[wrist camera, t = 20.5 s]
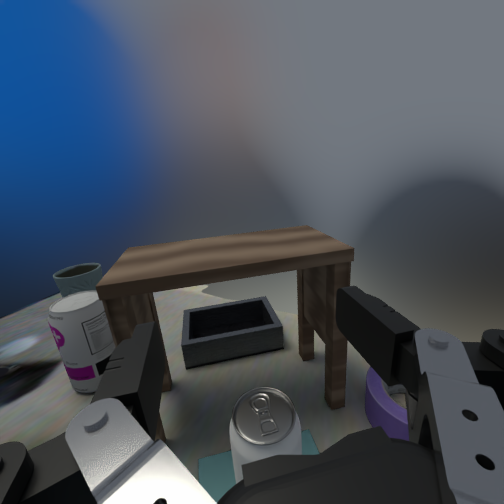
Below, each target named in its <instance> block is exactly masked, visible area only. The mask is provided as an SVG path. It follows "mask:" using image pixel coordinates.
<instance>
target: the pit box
mask: <svg viewBox="0 0 504 504" xmlns="http://www.w3.org/2000/svg"><path fill="white" fill-rule="evenodd" d="M181 346H182V351H183V357H184V362H185V367H186V369H190V368H195V367H199V366H204V365H209V364H214V363H219V362H223V361H228V360H233V359H238V358H242V357H247V356H252V355H257V354H261V353H266V352H271V351H276V350H280V349H284V346H283V326H282V324H281V322H280V321H279V319H278V317H277V315H276V314H275V312H274V310H273V308H272V307H271V305H270V303H269V301H268V300H267V298H266V296H265V297H259V298H253V299H247V300H241V301H235V302H229V303H224V304H218V305H212V306H206V307H200V308H194V309H189V310H184V317H183V330H182V344H181Z"/></svg>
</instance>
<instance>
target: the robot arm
mask: <svg viewBox="0 0 504 504" xmlns="http://www.w3.org/2000/svg"><path fill="white" fill-rule="evenodd" d="M336 324H337V327H338V329H339V330H340V332H341V333H342V334H343V335H344V336H345V337H346V339H347V340H348V341H349V342H350V343H351V344H352V345H353V347H354V348H355V349H356V350H357V351H358V352H359V353H360V355H361V356H362V357H363V358H364V359H365V360H366V361H367V363H368V364H369V365H370V366H371V367H372V368H373V369H374V371H375V372H376V373H377V374H378V375H379V376H380V377H381V379H382V380H383V381H384V382H385V383H386V384H387V385H388V387H390V386H394V385H398V384H402V385H403V386H404V387H405V388H406V392H405V398H406V409H407V421H408V432H409V441H407V440H403V439H397V438H389V437H388V435H387V434H386V433H385V431H384V430H383V428H382V427H381V426H377V427H373V428H370V429H366V430H363V431H359V432H356V433H352V434H349V435H347V436H346V437H344V438H343V439H341V440H340V441H338V442H337V443H335V444H334V445H332V446H331V447H330V448H328V449H327V450H325V451H324V452H322V453H320V454H317V455H275V456H271V457H268V458H264V459H261V460H257V461H254V462H250V463H247V464H243V465H241V466H242V474H243V480H241V481H240V482H238V483H237V484H235V485H234V486H233V487H232V488H231V489H229V490H228V491H227V492H226V493H225V494H224V495H223V496H222V497H221V499H220V500H219V501H218V502H217V503H216V502H215V501H214V500H213V499H212V497H211V496H210V495H209V494H208V493H207V492H206V490H205V489H204V488H203V487H202V486H201V485H200V483H199V482H198V481H197V480H196V479H195V478H194V477H193V475H192V474H191V473H190V472H189V471H188V470H187V468H186V467H185V466H184V465H183V464H182V463H181V461H180V460H179V459H178V458H177V457H176V456H175V455H174V453H173V452H172V451H171V450H170V449H169V448H168V446H167V445H166V444H165V443H164V442H163V441H162V440H160V439H157V440H156V441H155V437H156V429H157V422H158V415H159V408H160V401H161V393H162V386H163V379H164V372H165V355H164V350H163V345H162V341H161V337H160V332H159V328H158V324H157V322H156V321H154V322H149V323H143V324H138V325H136V326H135V329H134V332H133V335H132V337H131V339H126V340H123V341H122V342H121V343H120V344H119V345H118V346H117V347H116V348H115V349H114V350H113V352H112V355H111V357H110V359H109V362H108V364H107V366H106V369H105V371H104V373H103V376H102V378H101V380H100V383H99V385H98V387H97V390H96V392H95V394H94V397H93V399H92V401H91V404H90V405H88V406H86V407H85V408H84V409H82V410H81V411H80V412H79V413H78V414H77V415H76V416H75V417H74V418H73V419H72V420H71V422H70V423H69V425H68V427H67V429H66V432H64V433H63V434H61V435H59V436H57V437H56V438H54V439H52V440H49V441H47V442H45V443H43V444H41V445H39V446H37V447H35V448H33V449H31V450H29V451H27V449H26V447H25V446H24V445H23V443H20V442H8V443H4V444H1V445H0V504H504V330H499V329H490V330H486V331H485V332H483V335H482V339H481V342H461V341H460V340H458V338H456V337H455V336H453V335H451V334H449V333H447V332H444V331H441V330H437V329H430V328H429V329H420V328H419V327H418V326H416V325H415V324H413V323H412V322H411V321H409V320H408V319H407V318H405V317H404V316H402V315H401V314H400V313H398V312H395V310H394V309H393V308H391V307H389V306H388V305H387V304H386V303H385V302H383V301H382V300H380V299H379V298H376V297H373V296H371V295H369V294H366V293H364V292H363V291H362V290H360V289H359V288H358V287H356V286H349V287H343V288H339V289H338V290H337V293H336Z"/></svg>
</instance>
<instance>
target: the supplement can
mask: <svg viewBox="0 0 504 504" xmlns="http://www.w3.org/2000/svg"><path fill="white" fill-rule="evenodd" d="M49 310H50V313H49V316H48V323H49V325H50V328H51V331H52V333H53V336H54V339H55V341H56V344H57V347H58V350H59V352H60V355H61V358H62V360H63V363H64V366H65V368H66V371H67V374H68V377H69V379H70V382H71V385H72V387H73V388H74V389H75V391H78V392H85V393H90V392H96V390H97V387H98V385H99V383H100V380H101V378H102V376H103V373H104V371H105V369H106V366H107V364H108V362H109V359H110V357H111V355H112V352H113V350H114V349H115V345H114V341H113V338H112V334H111V331H110V327H109V324H108V320H107V317H106V313H105V310H104V306H103V303H102V300H101V301H99V298H98V294H97V291H93V290H92V291H83V292H78V293H74V294H71V295H68V296H66V297H63V298H61V299H59V300H58V301H56V302H54V303H53V304H52V305H51V306H50V309H49Z"/></svg>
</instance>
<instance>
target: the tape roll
mask: <svg viewBox="0 0 504 504" xmlns="http://www.w3.org/2000/svg"><path fill="white" fill-rule="evenodd" d="M405 392H406V388H405V387H404V386H403V385H402V384H398V385H394V386H390V387H388V385H387V384H386V383H385V382H384V381H383V380H382V379H381V377H380V376H379V375H378V374H377V373H376V372H375V371H374V369H373V368H372V367H370V368H369V370H368V372H367V377H366V394H365V411H366V415H367V417H368V420H369V422H370V424H371V425H372V427H377V426H381V427H382V428H383V430H384V431H385V433H386V434H387V435H388V437H389V438H397V439H403V440H407V441H409V432H408V421H407V409H406V408H404V407H402V406H401V405H399V404H398V403H397V402H395V401H394V400H393V399H392V398H391V397H390V396H389V395H391V394H395V393H405Z"/></svg>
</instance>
